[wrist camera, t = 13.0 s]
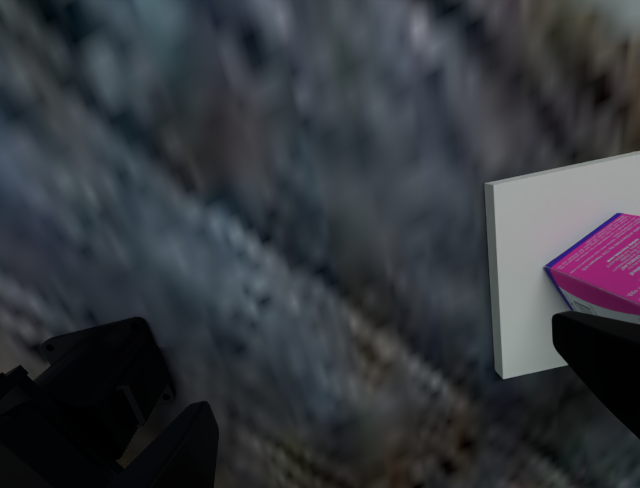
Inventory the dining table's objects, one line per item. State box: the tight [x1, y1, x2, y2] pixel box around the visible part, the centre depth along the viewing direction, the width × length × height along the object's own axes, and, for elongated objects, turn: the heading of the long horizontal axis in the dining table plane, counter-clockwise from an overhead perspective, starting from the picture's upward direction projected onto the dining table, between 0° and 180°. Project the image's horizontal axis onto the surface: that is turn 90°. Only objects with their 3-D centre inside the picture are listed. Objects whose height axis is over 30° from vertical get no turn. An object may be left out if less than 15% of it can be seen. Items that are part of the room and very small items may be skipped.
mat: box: [484, 151, 640, 379], centre depth 22 cm, size 14×14×1 cm
